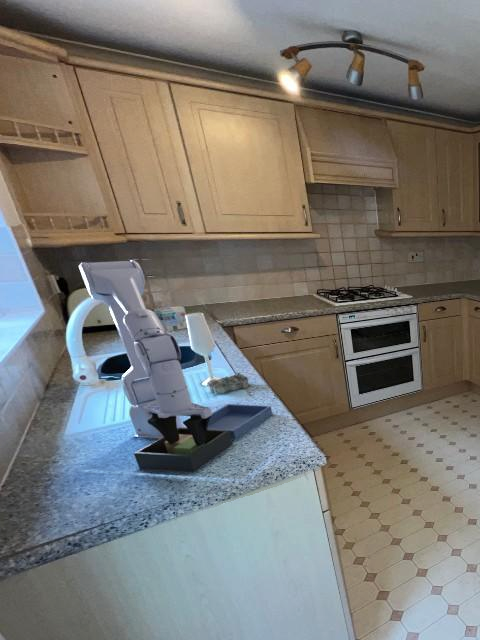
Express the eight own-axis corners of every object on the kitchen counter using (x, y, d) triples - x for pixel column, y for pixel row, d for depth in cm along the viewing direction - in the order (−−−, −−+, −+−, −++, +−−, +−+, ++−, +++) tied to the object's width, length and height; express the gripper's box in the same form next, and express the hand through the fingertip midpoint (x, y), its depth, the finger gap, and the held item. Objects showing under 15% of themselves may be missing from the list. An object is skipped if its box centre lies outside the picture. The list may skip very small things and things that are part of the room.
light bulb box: (168, 332, 202) (161, 310, 198) (159, 330, 204) (152, 309, 200) (190, 327, 211) (184, 306, 207) (182, 326, 213) (176, 305, 209)
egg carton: (216, 396, 130) (213, 384, 129) (207, 390, 134) (204, 379, 133) (252, 386, 138) (249, 375, 137) (242, 381, 142) (240, 370, 141)
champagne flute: (221, 384, 140) (203, 315, 131) (198, 386, 138) (178, 317, 129) (227, 377, 145) (209, 311, 137) (205, 379, 143) (186, 312, 134)
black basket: (140, 470, 92) (133, 453, 90) (184, 443, 103) (179, 427, 101) (194, 473, 91) (189, 456, 89) (233, 445, 102) (229, 430, 100)
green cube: (178, 462, 94) (173, 447, 92) (192, 453, 98) (187, 439, 96) (194, 463, 94) (189, 448, 92) (207, 454, 97) (203, 439, 96)
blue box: (188, 438, 105) (184, 428, 104) (230, 413, 119) (227, 403, 118) (236, 441, 104) (233, 430, 103) (272, 415, 118) (270, 406, 117)
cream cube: (169, 456, 96) (164, 442, 95) (183, 448, 100) (178, 434, 98) (184, 457, 96) (179, 443, 94) (198, 449, 99) (193, 434, 98)
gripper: (122, 394, 86) (143, 450, 91) (186, 398, 85) (204, 453, 90) (152, 382, 92) (170, 434, 97) (212, 385, 91) (227, 438, 96)
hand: (188, 443), depth 94 cm, fingers open, 6 cm apart
